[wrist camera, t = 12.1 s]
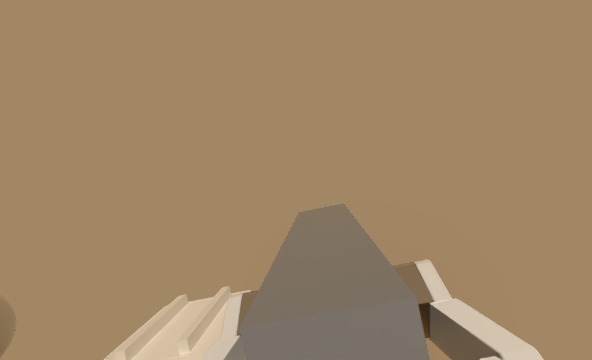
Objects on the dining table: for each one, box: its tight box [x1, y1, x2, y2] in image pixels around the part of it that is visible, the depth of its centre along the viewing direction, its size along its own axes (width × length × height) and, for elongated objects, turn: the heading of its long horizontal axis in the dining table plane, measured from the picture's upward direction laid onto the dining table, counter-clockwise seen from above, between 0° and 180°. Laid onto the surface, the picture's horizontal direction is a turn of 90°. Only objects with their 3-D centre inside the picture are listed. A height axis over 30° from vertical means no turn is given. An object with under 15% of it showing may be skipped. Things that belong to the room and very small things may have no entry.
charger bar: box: [240, 204, 429, 360], centre depth 17 cm, size 20×4×3 cm, turn 176°
